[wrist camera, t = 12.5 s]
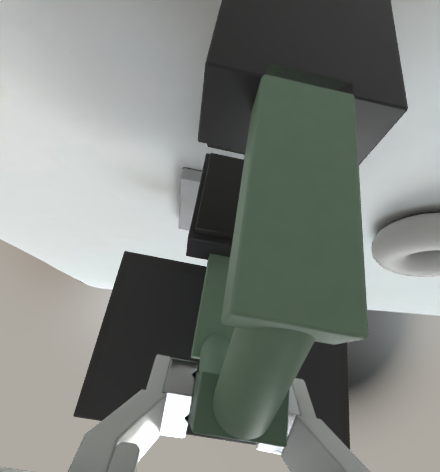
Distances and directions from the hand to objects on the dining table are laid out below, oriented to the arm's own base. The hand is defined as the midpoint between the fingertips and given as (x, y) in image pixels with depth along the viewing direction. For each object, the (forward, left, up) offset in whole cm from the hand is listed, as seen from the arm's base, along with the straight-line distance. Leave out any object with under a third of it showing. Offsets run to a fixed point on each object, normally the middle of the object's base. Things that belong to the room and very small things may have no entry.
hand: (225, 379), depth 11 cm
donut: (+12, +20, -17) cm, 29 cm away
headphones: (-1, 0, -13) cm, 13 cm away
